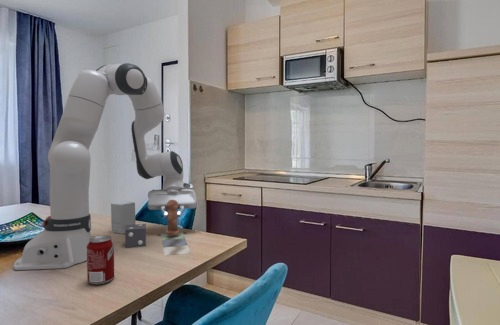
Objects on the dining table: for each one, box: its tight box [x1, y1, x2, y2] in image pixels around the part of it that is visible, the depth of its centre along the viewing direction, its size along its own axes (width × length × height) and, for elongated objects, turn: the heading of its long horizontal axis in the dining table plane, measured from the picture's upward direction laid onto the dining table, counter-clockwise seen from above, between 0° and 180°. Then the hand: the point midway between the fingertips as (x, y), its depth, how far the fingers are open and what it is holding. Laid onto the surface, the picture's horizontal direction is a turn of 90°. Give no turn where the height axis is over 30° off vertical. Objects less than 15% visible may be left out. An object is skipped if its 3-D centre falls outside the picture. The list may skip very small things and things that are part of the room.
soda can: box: [86, 235, 115, 286], centre depth 85 cm, size 7×7×12 cm
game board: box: [156, 231, 192, 257], centre depth 119 cm, size 12×28×1 cm, turn 18°
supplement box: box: [110, 200, 136, 235], centre depth 135 cm, size 7×7×13 cm
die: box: [124, 223, 147, 249], centre depth 116 cm, size 7×7×7 cm
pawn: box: [165, 200, 180, 235], centre depth 127 cm, size 5×5×14 cm
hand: (172, 216), depth 126 cm, fingers closed on pawn, 4 cm apart
